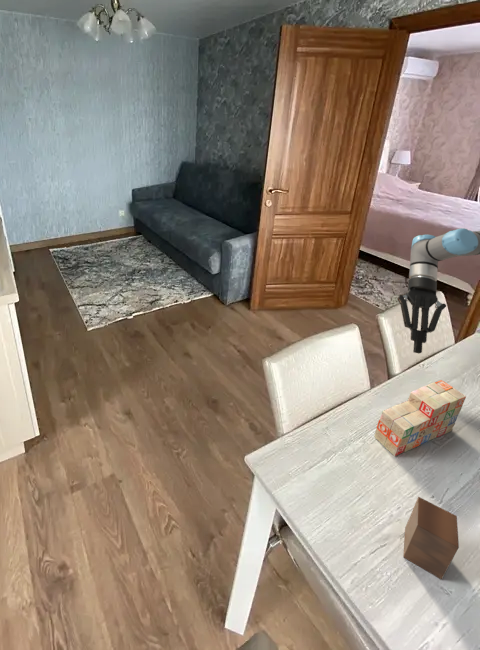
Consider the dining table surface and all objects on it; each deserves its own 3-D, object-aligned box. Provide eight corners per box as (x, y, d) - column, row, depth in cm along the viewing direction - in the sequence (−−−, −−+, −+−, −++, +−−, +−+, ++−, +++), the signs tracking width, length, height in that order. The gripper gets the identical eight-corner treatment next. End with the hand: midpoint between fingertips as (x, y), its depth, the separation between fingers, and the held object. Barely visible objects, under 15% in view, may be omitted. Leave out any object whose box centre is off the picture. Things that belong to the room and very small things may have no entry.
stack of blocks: (394, 457, 85) (407, 421, 80) (373, 436, 90) (384, 401, 85) (452, 430, 92) (467, 395, 87) (428, 412, 97) (441, 378, 93)
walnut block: (440, 547, 67) (456, 515, 64) (441, 580, 63) (459, 547, 59) (405, 528, 71) (418, 496, 67) (403, 557, 66) (417, 525, 62)
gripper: (442, 288, 113) (438, 360, 105) (396, 280, 118) (389, 348, 110) (451, 280, 107) (448, 356, 99) (402, 272, 112) (396, 344, 104)
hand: (417, 352), depth 105 cm, fingers closed
